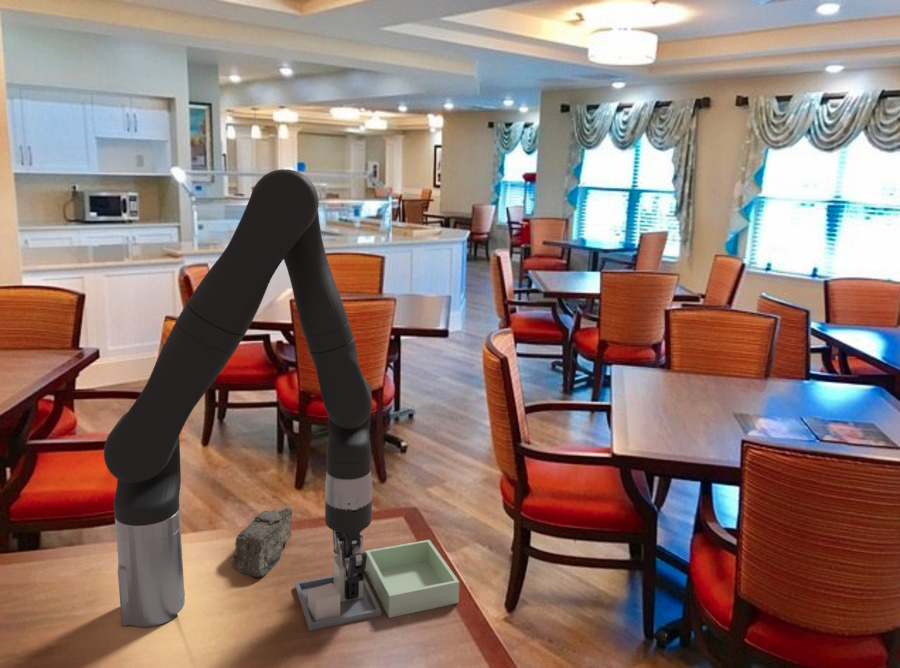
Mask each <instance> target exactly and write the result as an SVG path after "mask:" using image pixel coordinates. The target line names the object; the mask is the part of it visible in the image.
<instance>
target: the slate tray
mask: <svg viewBox="0 0 900 668" xmlns="http://www.w3.org/2000/svg"><path fill="white" fill-rule="evenodd" d="M329 583H332V584H333V586H334V574H332V575H327V576H322V577H317V578H311V579H306V580H301V581H295V582H294V588H295V591H296V594H297V597H298V602H299V604H300V606H301V610H302V612H303V615H304V620H305V621H306V624H307V628H308V631H309V632H310V631H316V630H318V629H323V628H329V627H334V626H338V625H342V624H343V625H344V624H348V623H353V622H357V621H360V620H361V621H362V620H366V619H372V618H375V617H380V616H382V609H381V607H380V605H379V603H378V601H377V599H376V597H375V595H374V593H373V591H372V589H371V586H370V584H369V583H368V581H367V579H366V577H365V575H364V580H363V598H358V599H353V600H348V601H343V602H340V617H335V618H330V619H325V620H321V621H316V622H315V621H314V620H313V619H312V617H311V616H310V614H309V611H308V590H309V589H313V588H316V587H319V586H323V585H326V584H329Z"/></svg>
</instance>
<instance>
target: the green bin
mask: <svg viewBox="0 0 900 668" xmlns="http://www.w3.org/2000/svg"><path fill="white" fill-rule="evenodd" d="M364 553H366V555H367V560H366V567H365V574H366V575H367V577H368V579H369V581H370V583H371V585H372V587H373V589H374V591H375V593H376V595H377V597H378V599H379V600H380V603H381V605H382V607H383V609H384V611H385V613H386V614H387V617H388V618H389V619H390V618H394V617H401V616H405V615H409V614H413V613H418V612H423V611H426V610H427V611H429V610H432V609H436V608H442V607H445V606H447V607H448V606H451V605H456V604H460V603H459V599H460V598H459V597H460V581H459V579H458V578H457V576H456V575H455V574H454V572H453V571H452V569H451V568H450V567H449V565H448V564H447V562H446V561H445V559H444V558H443V556H442V555H441V554H440V552H439V551H438V550H437V548H436V547H435V545H434V544H433V542H432V541H431V539H425V540H419V541H415V542H409V543H402V544H397V545H392V546H385V547H379V548H375V549H368V550H365V552H364Z"/></svg>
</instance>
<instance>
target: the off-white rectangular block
mask: <svg viewBox="0 0 900 668" xmlns="http://www.w3.org/2000/svg"><path fill="white" fill-rule="evenodd" d="M345 560H349V558H345ZM333 575H334V587H335V588H336V589H337V591H338V592H339V593H340V602H343V601H348V600H347V599H346V598H345V579H344V567H343V566H342V565H341V562H340V556H337V555H336V556H333ZM358 598H363V581H359V596H358V597H357V598H355V599H358ZM350 600H353V599H350Z"/></svg>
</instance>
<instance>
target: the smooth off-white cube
mask: <svg viewBox="0 0 900 668" xmlns="http://www.w3.org/2000/svg"><path fill="white" fill-rule="evenodd" d="M308 611H309V614H310V616H311V617H312V619H313V620H314V621H315V622H316V621H321V620H325V619H330V618H335V617H340V593H339V592H338V591H337V589H336V588H335V587H334V586H333V584H332V583H329V584H326V585H323V586H319V587H316V588H313V589H309V590H308Z"/></svg>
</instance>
